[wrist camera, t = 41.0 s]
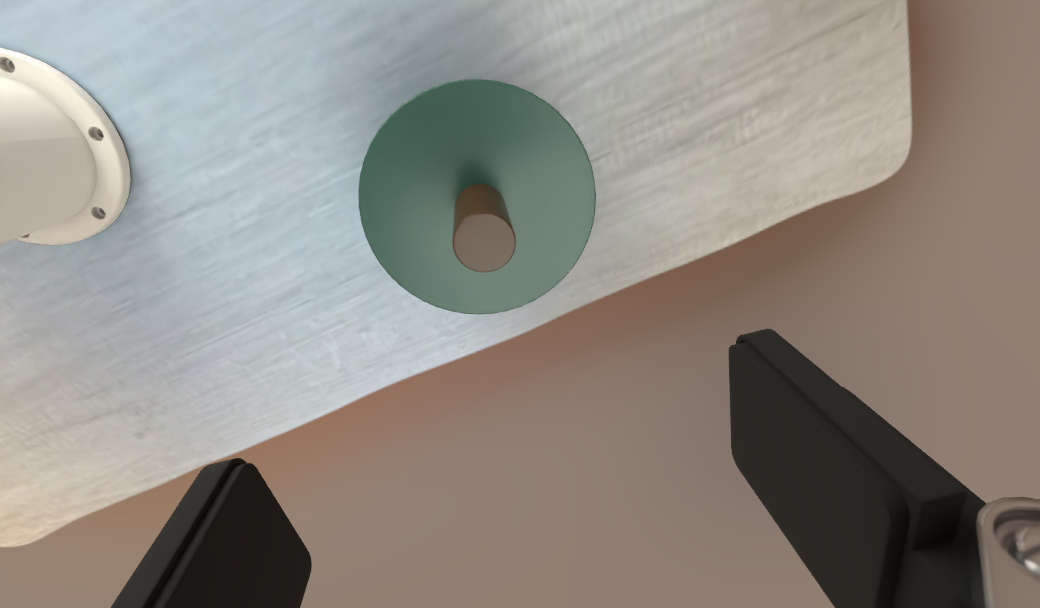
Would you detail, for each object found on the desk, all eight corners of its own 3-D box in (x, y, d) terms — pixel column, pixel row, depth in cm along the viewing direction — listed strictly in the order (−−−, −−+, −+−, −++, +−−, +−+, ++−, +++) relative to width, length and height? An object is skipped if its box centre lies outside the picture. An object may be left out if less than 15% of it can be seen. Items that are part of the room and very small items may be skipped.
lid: (405, 327, 31) (389, 395, 24) (325, 112, 25) (277, 125, 19) (605, 278, 31) (642, 333, 24) (570, 52, 25) (608, 45, 19)
